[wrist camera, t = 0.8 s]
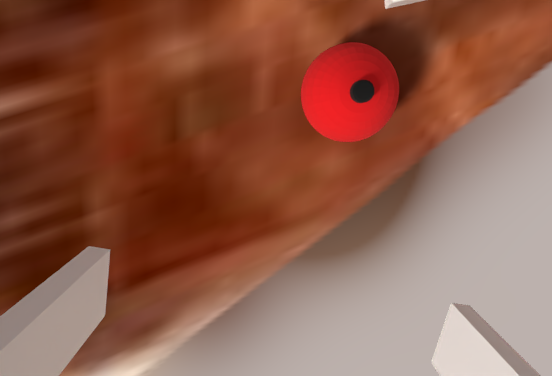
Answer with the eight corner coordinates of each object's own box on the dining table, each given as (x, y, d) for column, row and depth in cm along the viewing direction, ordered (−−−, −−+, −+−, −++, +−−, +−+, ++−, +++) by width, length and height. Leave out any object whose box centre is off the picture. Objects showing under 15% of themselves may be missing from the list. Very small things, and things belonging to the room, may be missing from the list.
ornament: (393, 115, 37) (437, 117, 28) (318, 152, 38) (335, 166, 28) (360, 35, 35) (396, 7, 26) (282, 75, 36) (288, 63, 26)
